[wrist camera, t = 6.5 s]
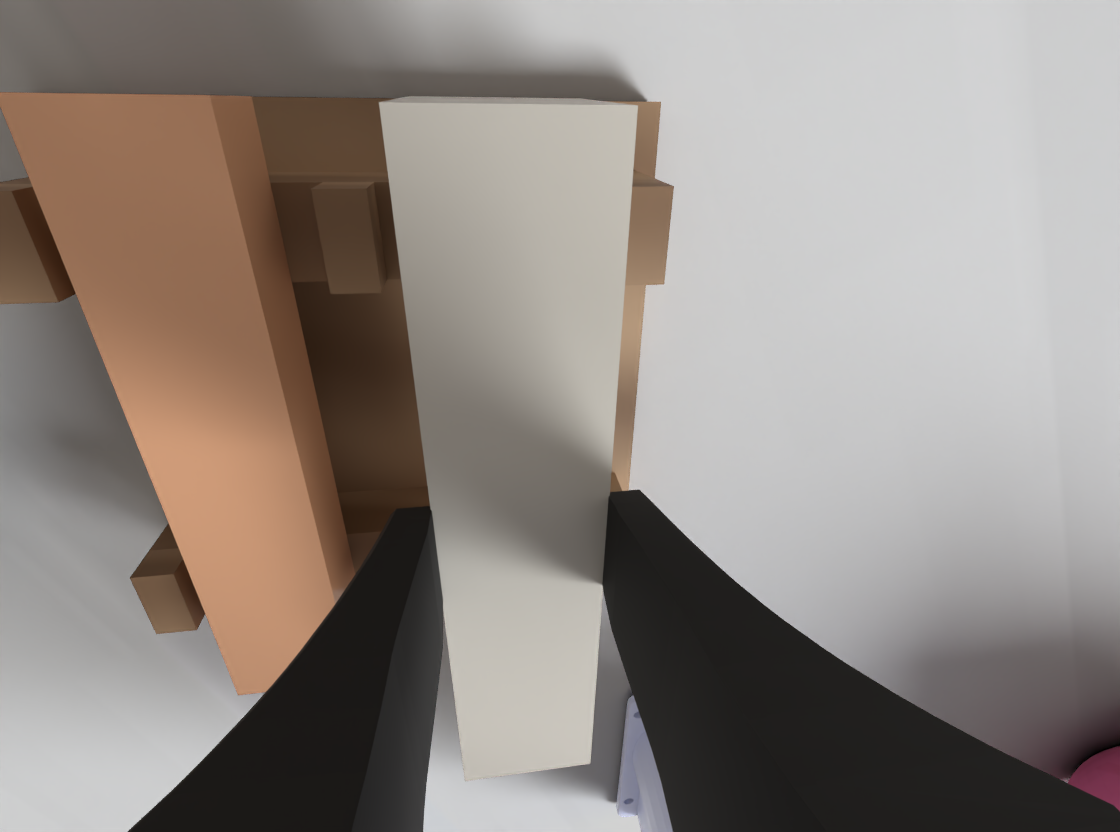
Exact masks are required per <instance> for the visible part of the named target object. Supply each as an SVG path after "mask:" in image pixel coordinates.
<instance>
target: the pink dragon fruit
mask: <svg viewBox="0 0 1120 832" xmlns="http://www.w3.org/2000/svg"><path fill="white" fill-rule="evenodd" d="M1068 784H1070V785H1072V786H1074V787H1076V788H1079V789H1081V790H1083V791H1085V792H1087V793H1089V794H1091V795H1093V796H1095V797H1097V798H1100V799H1102V800H1104V801H1106V802H1108V803H1110V804H1112V805H1114V806H1115V807H1116V808H1117V809H1118V810H1119V811H1120V746H1118V747H1114V748H1111V749H1108V750H1104V751H1102V752H1100V753H1097V754H1095V755H1094V756H1092V757H1090V758H1089V759H1088V760H1086V761H1085V762H1084V763H1082V764H1081V765H1080V766H1079V767H1078V768H1077V770H1076V771H1075V772H1074V773H1073V775H1072V776H1071V778H1070V779H1069V781H1068Z"/></svg>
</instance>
